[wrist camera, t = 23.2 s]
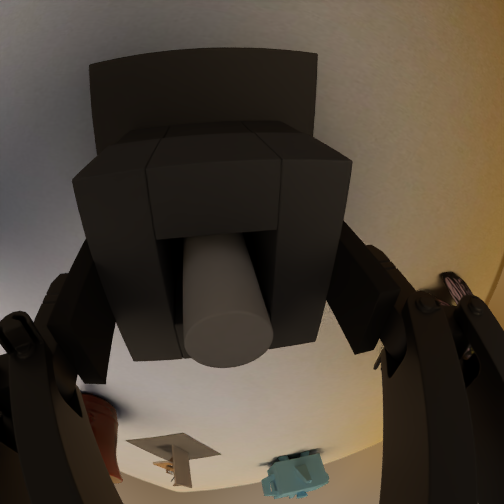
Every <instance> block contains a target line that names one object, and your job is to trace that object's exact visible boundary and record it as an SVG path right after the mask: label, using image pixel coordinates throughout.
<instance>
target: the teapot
mask: <svg viewBox="0 0 504 504" xmlns="http://www.w3.org/2000/svg"><path fill="white" fill-rule="evenodd" d="M309 452H310V451H306V452H303V453H301V454H300V458H295V459H290V460H289V459H288V456H281V457H279V458H278V459H279V460H280V462H275V463H273V465H272V466H271V467H270V468H269V470H268V471H267V472H268V477H266V478H264V479H263V480H262V487H263V491H264V496H274V499H277V498H282V497H287V496H289V498H293V497H294V496H295V495H296V494H297V498H303V497H306V496H308V495H307V493H306V492H308V491H313V490H316V489H318V488H320V487H322V486H323V485H325V484H327V483H328V480H329V476H328V474H327V473H326V472H325V469H324V466H323V463H322V460H321V457H320V454H319V453H318V454H314V455H309ZM308 455H309V456H308ZM270 484H271V488H272V492H271V489H270Z"/></svg>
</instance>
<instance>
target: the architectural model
mask: <svg viewBox="0 0 504 504" xmlns="http://www.w3.org/2000/svg"><path fill="white" fill-rule="evenodd" d="M126 441H127V442H129V443H131V444H133V445H135V446H137V447H139V448H141V449H143V450H146V451H148V452H150V453H152V454H154V455H156V456H159V457H161V458H163V459H166V460H168V461H160V462H153V464H154V465H157V466H159V467H162V468H165V469H166V471H167V472H166V473H169V474H170V473H174V478H173V479H175V483H174V485H173V486H186V487H189V488H192V483H191V475H190V466H189V460H190V459H197V458H203V457H209V456H215V455H221V454H220V453H218V452H216V451H214V450H212V449H210V448H208V447H207V446H205V445H203V444H201V443H199V442H198V441H196V440H194V439H193V438H191V437H189V436H187V435H186V434H184V433H181V434H174V435H168V436H161V437H154V438H146V439H137V440H126ZM171 465H172V466H171ZM169 470H170V471H171V472H168V471H169ZM172 475H173V474H172ZM173 479H172V480H173ZM172 480H171V481H172Z"/></svg>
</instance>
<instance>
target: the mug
mask: <svg viewBox="0 0 504 504" xmlns="http://www.w3.org/2000/svg"><path fill="white" fill-rule="evenodd" d="M81 395H82V398H83V402H84V405H85V409H86V412H87V415H88V419H89V422H90V425H91V428H92V431H93V434H94V437H95V439H96V442H97V445H98V448H99V450H100V453H101V455H102V458H103V460H104V463H105V465H106V468H107V470H108V472H109V475H110V477H111V479H112V481H113V484H114V483H121V482H122V481H123V479H122V476H121V473H120V470H119V467H118V463H117V457H116V448H117V432H118V420H117V412H116V409H115V408H114V407H113V406H112V405H111V404H110V403H109V402H107V401H106V400H104V399H102V398H100V397H98V396H95V395H91V394H86V393H81Z"/></svg>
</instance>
